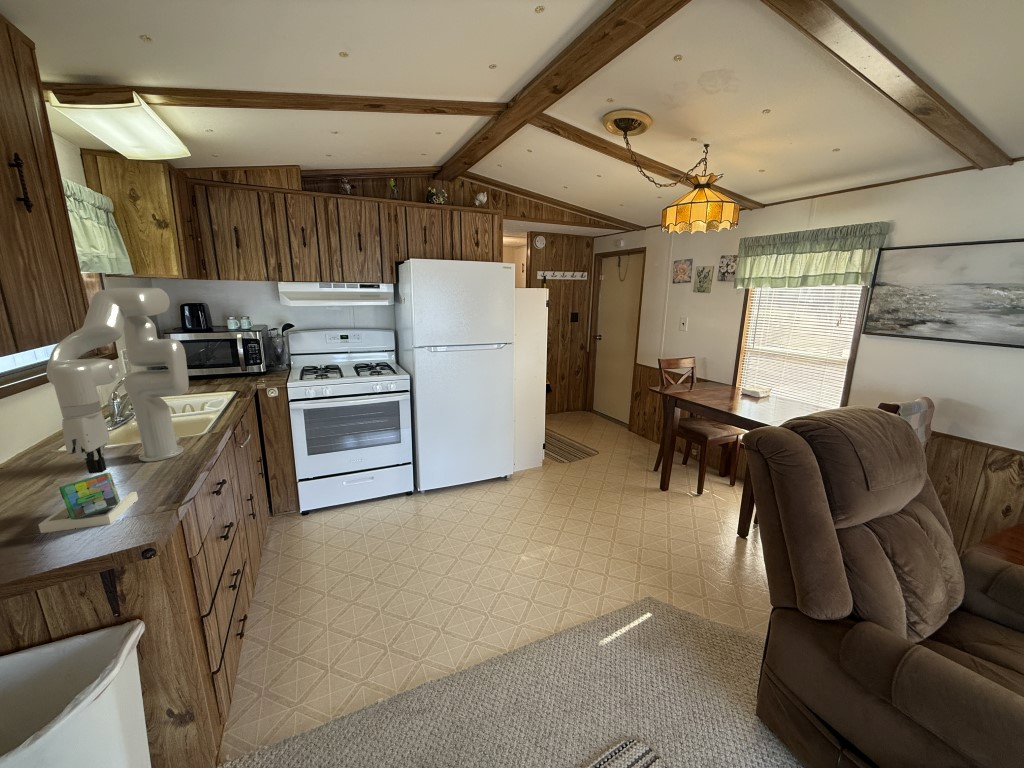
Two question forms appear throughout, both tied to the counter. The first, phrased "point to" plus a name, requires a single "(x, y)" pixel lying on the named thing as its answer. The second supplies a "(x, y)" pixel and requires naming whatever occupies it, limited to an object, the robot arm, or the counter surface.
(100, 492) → the chalk box
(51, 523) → the cream u-shaped bracket
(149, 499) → the counter surface
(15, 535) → the counter surface
